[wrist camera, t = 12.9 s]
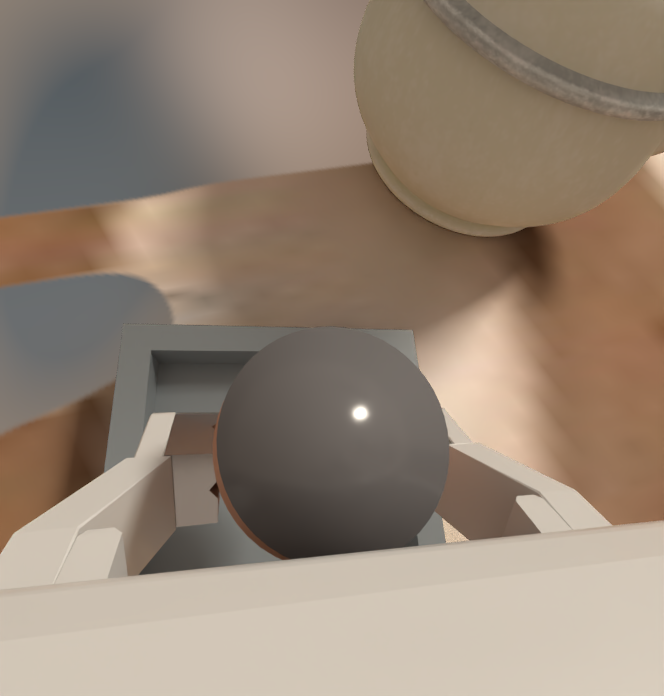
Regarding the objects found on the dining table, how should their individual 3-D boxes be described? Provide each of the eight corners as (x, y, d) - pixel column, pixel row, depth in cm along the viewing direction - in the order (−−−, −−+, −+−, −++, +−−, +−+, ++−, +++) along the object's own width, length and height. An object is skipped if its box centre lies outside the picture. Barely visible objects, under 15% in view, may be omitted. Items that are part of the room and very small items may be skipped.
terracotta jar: (338, 414, 15) (434, 324, 8) (346, 531, 13) (476, 561, 6) (227, 416, 14) (214, 317, 7) (223, 543, 12) (202, 593, 5)
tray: (395, 348, 22) (412, 329, 20) (433, 630, 17) (462, 649, 15) (137, 345, 19) (123, 323, 17) (99, 683, 14) (71, 716, 12)
